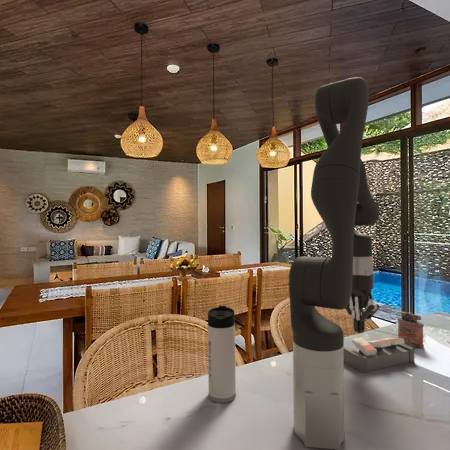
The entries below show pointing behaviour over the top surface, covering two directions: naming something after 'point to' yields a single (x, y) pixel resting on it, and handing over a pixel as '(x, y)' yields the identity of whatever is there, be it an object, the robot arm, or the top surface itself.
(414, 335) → the lighter
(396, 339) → the rocker far
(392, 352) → the dark grey slotted base
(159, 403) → the top surface
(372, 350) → the rocker near
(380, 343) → the rocker middle
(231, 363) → the travel mug
